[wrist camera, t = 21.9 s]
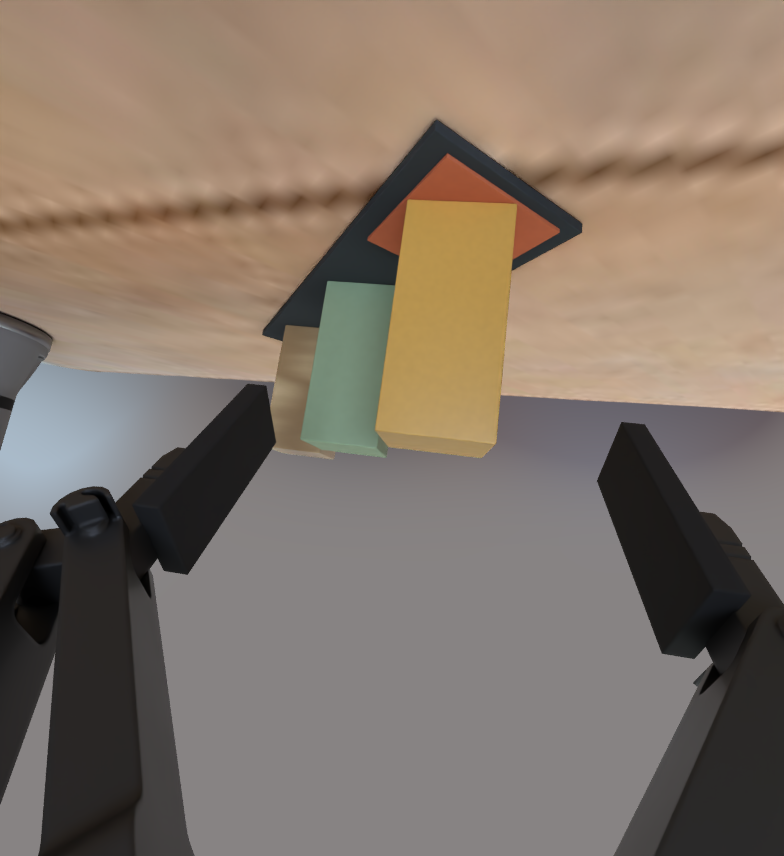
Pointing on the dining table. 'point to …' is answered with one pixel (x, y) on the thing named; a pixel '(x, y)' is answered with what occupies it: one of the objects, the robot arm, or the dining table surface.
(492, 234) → the tall mustard brick
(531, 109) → the dining table surface
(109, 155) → the dining table surface
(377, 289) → the sage I block
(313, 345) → the tan tall block
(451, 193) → the word mat
